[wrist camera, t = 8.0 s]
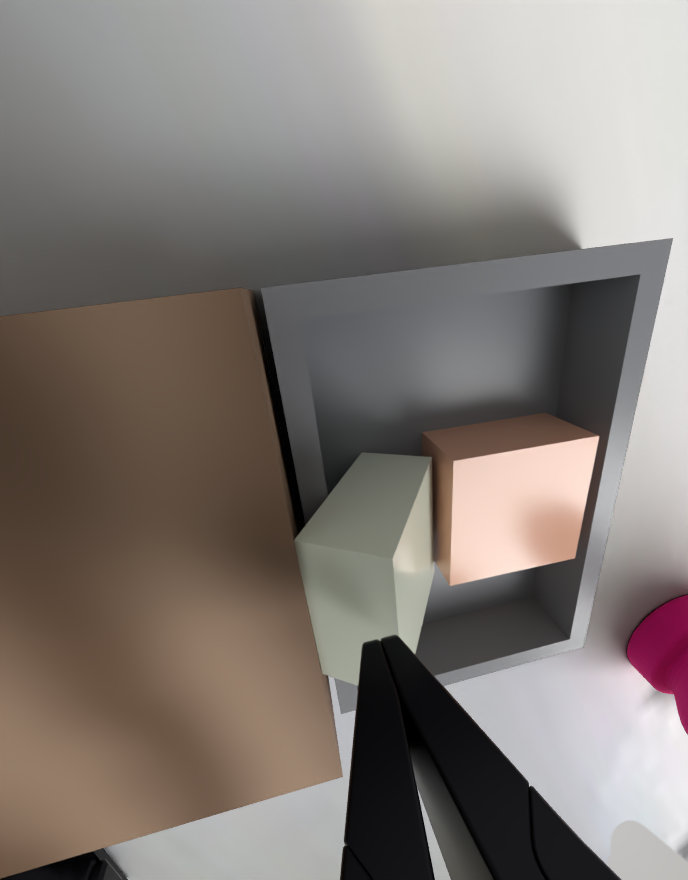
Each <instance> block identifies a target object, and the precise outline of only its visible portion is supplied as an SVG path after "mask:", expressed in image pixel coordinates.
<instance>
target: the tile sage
mask: <svg viewBox="0 0 688 880" xmlns="http://www.w3.org/2000/svg"><path fill="white" fill-rule="evenodd" d="M294 543H295V548H296V553H297V557H298V562H299V567H300V571H301V576H302V581H303V585H304V590H305V595H306V599H307V604H308V609H309V613H310V618H311V623H312V627H313V632H314V637H315V641H316V646H317V651H318V655H319V660H320V665H321V669H322V674H324V675H327V676H330V677H333V678H336V679H339V680H342V681H345V682H348V683H351V684H354V685H357V686H358V683H359V672H360V661H361V650H362V644H363V643H364V642H367V641H371V640H375V639H378V640H379V641H380V640H381V638H383V637H387V636H391V635H397V636H399V637H400V638H401V639H402V640H403V641H404V643H405V644H406V645H407V646H408V647H409V648H410V649H411V650H412V652H413V653H414V654H415V653H416V649H417V645H418V640H419V636H420V632H421V627H422V623H423V619H424V614H425V610H426V606H427V601H428V597H429V593H430V588H431V584H432V580H433V576H434V532H433V489H432V457H424V456H409V455H394V454H380V453H365V452H362V453H361V454H360V455H359V457H358V458H357V459H356V460H355V462H354V463H353V464H352V466H351V467H350V468H349V470H348V471H347V472H346V473H345V475H344V476H343V477H342V479H341V480H340V481H339V483H338V484H337V485H336V486H335V488H334V489H333V490H332V492H331V493H330V494H329V496H328V497H327V498H326V500H325V501H324V502H323V503H322V505H321V506H320V507H319V509H318V510H317V511H316V513H315V514H314V515H313V516H312V518H311V519H310V520H309V522H308V523H307V524H306V526H305V527H304V528H303V529H302V531H301V532H300V533H299V535H298V536H297V537H296V539H295V540H294Z"/></svg>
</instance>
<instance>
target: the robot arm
mask: <svg viewBox="0 0 688 880" xmlns="http://www.w3.org/2000/svg"><path fill="white" fill-rule="evenodd" d="M416 784H417V785H416ZM417 787H418V790H419V792H420V795H421V798H422V801H423V804H424V806H425V809H426V812H427V815H428V817H429V820H430V823H431V826H432V828H433V831H434V834H435V837H436V839H437V842H438V845H439V848H440V850H441V853H442V856H443V859H444V861H445V864H446V867H447V870H448V872H449V875H450V878H451V880H621V879H620V878H619V877H618V876H617V875H616V874H615V873H614V872H613V871H612V870H611V869H610V868H609V867H608V866H607V865H606V864H605V863H604V862H603V861H602V860H601V859H600V858H599V857H598V856H597V855H596V854H595V853H594V852H593V851H592V850H591V849H590V848H589V847H588V846H587V845H586V844H585V843H584V842H583V841H582V840H581V839H580V838H579V836H578V835H577V834H576V833H575V832H574V831H573V830H572V829H571V828H570V827H569V826H568V825H567V824H566V822H565V821H564V820H563V819H562V818H561V817H560V816H559V815H558V814H557V813H556V812H555V811H554V810H553V809H552V807H551V806H550V805H549V804H548V803H547V802H546V801H545V800H544V798H543V797H542V796H541V795H540V794H539V793H538V792H537V791H536V789H535V788H534V787H533V786H530V787H529V783H528V781H527V780H526V778H525V777H524V776H523V775H522V774H521V773H520V772H519V771H518V769H517V768H516V767H515V766H514V765H513V764H512V763H511V762H510V760H509V759H508V758H507V757H506V756H505V755H504V754H503V753H502V752H501V750H500V749H499V748H498V747H497V746H496V745H495V744H494V743H493V741H492V740H491V739H490V738H489V737H488V736H487V735H486V734H485V732H484V731H483V730H482V729H481V728H480V727H479V726H478V725H477V723H476V722H475V721H474V720H473V719H472V718H471V717H470V716H469V714H468V713H467V712H466V711H465V710H464V709H463V708H462V707H461V705H460V704H459V703H458V702H457V701H456V700H455V699H454V698H453V696H452V695H451V694H450V693H449V692H448V691H447V690H446V689H445V687H444V686H443V685H442V684H441V683H440V682H439V681H438V680H437V678H436V677H435V676H434V675H433V674H432V673H431V672H430V671H429V670H428V668H427V667H426V666H425V665H424V664H423V663H422V662H421V661H420V659H419V658H418V657H417V656H416V655H415V654H414V653H413V652H412V650H411V649H410V648H409V647H408V646H407V645H406V644H405V643H404V641H403V640H402V639H401V638H400V637H399V636H397V635H391V636H387V637H383V638H381V640H380V641H379V640H378V639H375V640H371V641H367V642H364V643H363V644H362V650H361V661H360V672H359V683H358V694H357V705H356V715H355V726H354V737H353V748H352V759H351V770H350V780H349V791H348V802H347V813H346V824H345V835H344V843H345V846H344V847H343V853H342V864H341V875H340V880H435V878H434V873H433V867H432V862H431V857H430V852H429V847H428V842H427V836H426V831H425V826H424V821H423V816H422V811H421V805H420V800H419V795H418V790H417ZM0 880H128V879H127V878H126V877H125V876H124V874H123V873H122V872H121V871H120V869H119V868H118V867H117V866H116V864H115V863H114V862H113V861H112V860H111V858H110V857H109V856H108V855H107V853H106V852H105V851H104V850H103V848H101V849H98V850H95V851H91V852H88V853H85V854H81V855H78V856H75V857H71V858H68V859H64V860H61V861H58V862H54V863H51V864H48V865H44V866H41V867H38V868H34V869H31V870H27V871H24V872H21V873H17V874H14V875H11V876H7V877H4V878H1V879H0Z"/></svg>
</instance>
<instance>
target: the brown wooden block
mask: <svg viewBox="0 0 688 880" xmlns="http://www.w3.org/2000/svg"><path fill="white" fill-rule="evenodd" d="M300 532H301V528H300V523H299V518H298V513H297V508H296V503H295V498H294V493H293V488H292V483H291V477H290V472H289V467H288V462H287V457H286V452H285V447H284V442H283V437H282V432H281V427H280V421H279V416H278V411H277V406H276V401H275V396H274V391H273V386H272V381H271V376H270V371H269V365H268V360H267V355H266V350H265V345H264V340H263V335H262V330H261V325H260V320H259V315H258V309H257V304H256V299H255V294H254V291H252V290H248V289H244V288H233V289H225V290H217V291H208V292H200V293H191V294H183V295H175V296H166V297H158V298H150V299H141V300H133V301H124V302H116V303H108V304H99V305H91V306H83V307H74V308H66V309H58V310H49V311H41V312H32V313H24V314H16V315H7V316H0V879H1V878H4V877H7V876H11V875H14V874H17V873H21V872H24V871H27V870H31V869H34V868H38V867H41V866H44V865H48V864H51V863H54V862H58V861H61V860H64V859H68V858H71V857H75V856H78V855H81V854H85V853H88V852H91V851H95V850H98V849H101V848H105V847H108V846H112V845H115V844H118V843H122V842H125V841H128V840H132V839H135V838H138V837H142V836H145V835H148V834H152V833H155V832H159V831H162V830H165V829H169V828H172V827H175V826H179V825H182V824H185V823H189V822H192V821H196V820H199V819H202V818H206V817H209V816H212V815H216V814H219V813H222V812H226V811H229V810H233V809H236V808H239V807H243V806H246V805H249V804H253V803H256V802H259V801H263V800H266V799H270V798H273V797H276V796H280V795H283V794H286V793H290V792H293V791H296V790H300V789H303V788H306V787H310V786H313V785H317V784H320V783H323V782H327V781H330V780H333V779H337V778H340V777H343V775H342V768H341V761H340V754H339V747H338V740H337V734H336V727H335V720H334V713H333V706H332V699H331V692H330V685H329V679H328V676H327V675H324V674H322V669H321V665H320V660H319V655H318V651H317V646H316V641H315V637H314V632H313V627H312V623H311V618H310V613H309V609H308V604H307V599H306V595H305V590H304V585H303V581H302V576H301V571H300V567H299V562H298V557H297V553H296V548H295V543H294V540H295V539H296V537H297V536H298V535H299V533H300Z"/></svg>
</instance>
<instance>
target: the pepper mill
mask: <svg viewBox="0 0 688 880" xmlns="http://www.w3.org/2000/svg"><path fill="white" fill-rule="evenodd" d="M627 655H628V659H629V661H630V663H631V664H632V665H633V666H634V668H635V669H636V670H637V671H638V672H639V673H640V674H641V675H642V676H643V677H644V678H645V679H646V680H647V681H648V682H649V683H650V684H651V685H652V686H653V687H654V688H655V689H656V690H658V691H660V692H663V693H667V694H674V696H675V700H676V705H677V709H678V714H679V717H680V720H681V723H682V725H683V727H684V729H685V731H686V733H687V734H688V595H685V596H682V597H679V598H676V599H674V600H671V601H669V602H667V603H666V604H664V605H662V606H661V607H659V608H657V609H656V610H655V611H653V612H652V613H651V614H650V615H649V616H647V617H646V618H645V619H644V620H643V621H642V623H641V624H640V625H639V626H638V627H637V628H636V630H635V631H634V633H633V634H632V636H631V638H630V641H629V643H628V648H627Z"/></svg>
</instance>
